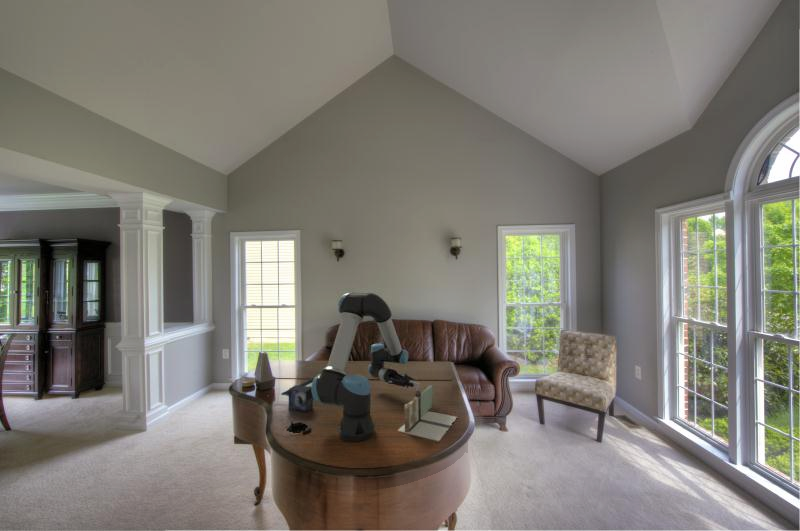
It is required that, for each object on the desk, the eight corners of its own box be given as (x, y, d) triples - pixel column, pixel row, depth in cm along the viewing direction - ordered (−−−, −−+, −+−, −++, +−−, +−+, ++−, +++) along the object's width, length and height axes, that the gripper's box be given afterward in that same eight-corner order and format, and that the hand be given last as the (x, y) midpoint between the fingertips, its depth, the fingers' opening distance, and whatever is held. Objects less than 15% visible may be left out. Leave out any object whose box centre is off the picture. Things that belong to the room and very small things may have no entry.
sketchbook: (281, 395, 184) (281, 392, 184) (315, 379, 212) (315, 376, 212) (311, 401, 175) (311, 397, 175) (343, 383, 203) (343, 380, 203)
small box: (287, 410, 163) (287, 389, 163) (295, 405, 169) (295, 384, 170) (306, 412, 160) (306, 391, 160) (313, 407, 166) (313, 386, 167)
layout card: (439, 441, 132) (439, 440, 132) (397, 431, 140) (397, 430, 140) (457, 417, 153) (457, 416, 153) (420, 410, 162) (420, 409, 162)
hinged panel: (421, 417, 151) (421, 395, 151) (417, 416, 152) (417, 395, 152) (433, 405, 164) (433, 385, 165) (429, 404, 165) (429, 385, 166)
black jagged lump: (283, 440, 134) (283, 428, 135) (279, 430, 143) (279, 419, 143) (312, 433, 140) (312, 422, 140) (307, 424, 149) (307, 413, 149)
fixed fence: (408, 433, 138) (408, 401, 138) (403, 432, 139) (403, 400, 140) (422, 420, 151) (421, 390, 151) (416, 419, 152) (416, 389, 152)
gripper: (397, 379, 185) (428, 390, 168) (379, 385, 176) (410, 397, 159) (397, 366, 185) (427, 375, 168) (379, 371, 176) (409, 382, 159)
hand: (419, 386), depth 163 cm, fingers closed
